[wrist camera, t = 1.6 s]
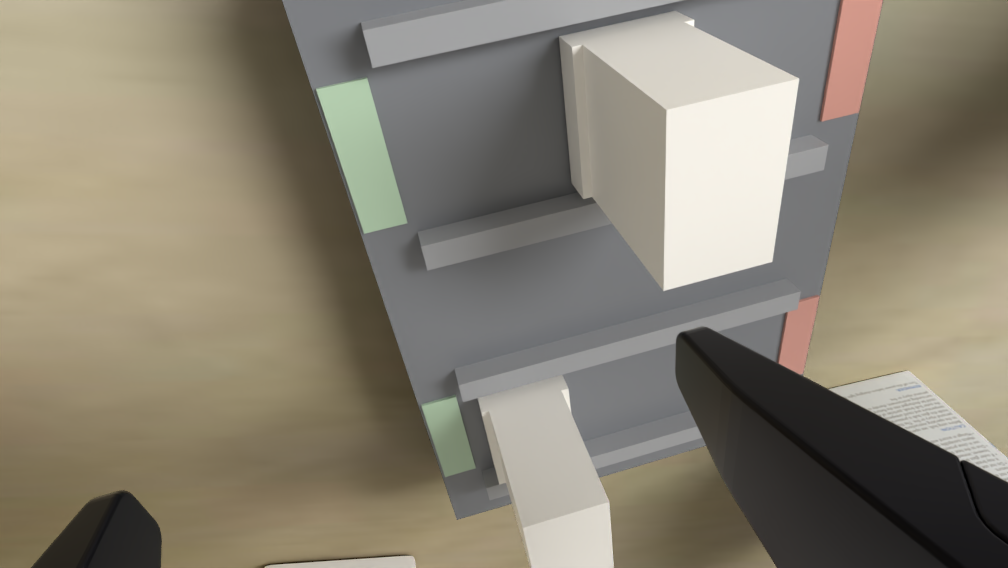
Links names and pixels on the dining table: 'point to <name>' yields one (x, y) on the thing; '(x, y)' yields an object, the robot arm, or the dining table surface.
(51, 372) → the dining table surface
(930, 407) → the light bulb box
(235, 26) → the dining table surface
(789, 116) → the white block
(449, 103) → the breaker panel
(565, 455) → the tall cream cuboid
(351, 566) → the off-white cardboard box
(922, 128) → the dining table surface
